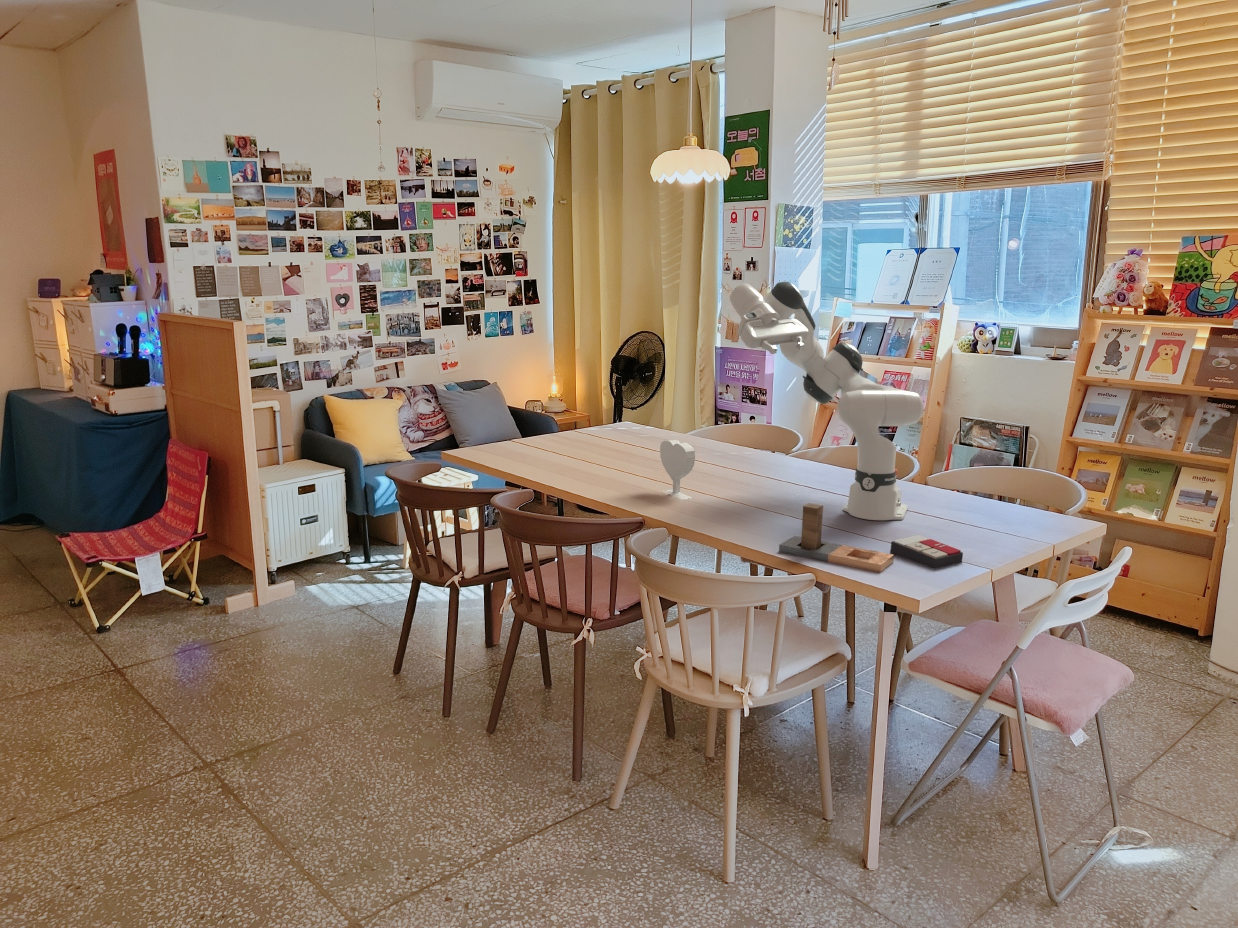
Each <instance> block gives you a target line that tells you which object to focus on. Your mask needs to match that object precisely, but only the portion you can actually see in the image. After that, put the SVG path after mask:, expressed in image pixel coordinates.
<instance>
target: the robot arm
mask: <svg viewBox="0 0 1238 928" xmlns="http://www.w3.org/2000/svg"><path fill="white" fill-rule="evenodd" d="M729 301H730V303H731V304H730V305H732V307H733V308H734V310H735V312H736V313H737V314H738V316H739V317H740V318H741V320H740V322H739V324H738V328H737V335H738V336H739V337H740V339H741V340H742V342H743V343H744V345H745V346H746V347H748V348H750V349H757V348H761V349H763V350H765V351H767V352H769V354H771V355H775V354H777V352H778V348H777V347H776V346H779V349H780V352H781V354H782V355H783V356H784V357H785V358H786V359H787V360H788V361H789V362H790V363H792V364H793V365H795V366H796V367H798V368H801V369H802V370H803V371H805V372H806V374H805V375H806V376H805V375H802V378H803V383H802V385H803V390H804V391H805V393H806V395H807V397H808V399H810V400H811V401H813V402H815V403H817V404H821V405H826V404H828V403H829V402H830V401H832V400H833V399H834V397H835V396H836V395H837V394H838V393H839V392H840V397H839V399H838V400H837V407H836V412H837V415H838V417H839V419H840V421H842V423H844V424H845V425H846V426H847V427H848V429H850V431H851V432H852V433H853V435H854V437H855V439H856V443H857V468H855V472H854V480H855V482H853V483H852V484H850V486H849V494H848V500H847V504H846V505H844V506H843V507H842V508H843V509H842V511H844V512H846V513H848V514H849V515H850V516H853V517H855V518H858V519H862V520H863V519H864V520H868V521H869V520H870V521H889V520H890V521H891V520H896V521H899V520H900V521H901V520H902V521H903V520H904V518H905V515H906V514H907V512H908V507H909V506H908V505H907V504H905V503H902V491H901V489H900V488H899V486H898V485H897V483H896V482H897V475H898V469H897V468H895V467H896V453H897V449H896V446H895V444H894V442H892V441H891V440H890V439H888V438H887V437H885V436H882V435H881V434H880V432H879V431H880V430H879V427H904V426H909V425H913V424H914V425H915V424H917V423H918V422H919V421H920V419H922V416H923V414H924V409H925V407H924V401H923V399H922V396H920V395H919V393H917V392H914V391H909V390H904V389H900V388H897V387H892V386H889V385H884V384H878V383H876V382H874V381H872V380H871V379H869V378H866V377H864V376H862V375H860V372H863V371H864V368H862V367H863V357H862V355H861V354H860V352H859V350H858V349H857V347H855V346H854V345H852V344H850V343H847V342H846V343H845V342H839V343H837V344H836V345H834V346H833V348H832V350H830V352H828V353H827V354H826V355H825V352H824V349H823V347H822V345H821V343H820V342H819V341H818V339H817V338H816V337H815V336H814V334H815V333H814V332H815V330H816V323H815V320H814V318H813V316H812V314H811V312H810V311H809V309H808V306H807V305H806V303H805V300H804V298H803V295H802V293H801V292H800V290H799V289H798V287H797V286H796V285H794V284H793V282H792V283H791V282H789V281H780V282H777V283H776V284H775V286H773V288H771V290H770V291H769V293H768V294H767V295H766V296H765V297H764V296H763V295H762V294H761V293H760V292H759V291H758V289H756V288H755V287H753V286H752V285H750V283H748V282H747V283H746V282H745V283H741V284H740V285H738V286H736V287H735V288H734V289H733V291H732V292H731V293H730V295H729ZM792 315H794V317H793V318H791V317H792Z"/></svg>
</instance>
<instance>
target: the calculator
mask: <svg viewBox="0 0 1238 928" xmlns="http://www.w3.org/2000/svg"><path fill="white" fill-rule="evenodd" d="M890 542H891V543H890V550H889V554H893V555H894V556H897V557H900V558H904V559H906V560H909V561H911V562H914V563H916V564H919V565H923V566H924V567H928V568H930V569H932V570H933V569H934V570H936V569H941V568H944V567H948V566H953V565H955V564H960V563H962V561H963V558H964V557H963V555H964V552H962V551H961V549H959V548H955V547H952V546H950V545H948V544H945V543H942V542H940V541H937V540H934V539H931V538H927V537H924V536H922V535H920V534H919V535H913V536H909V537H908V536H907V537H905V538H904V537H903V538H900V539H896V540H895V539H894V540H893V541H890Z"/></svg>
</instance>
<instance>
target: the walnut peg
mask: <svg viewBox="0 0 1238 928" xmlns="http://www.w3.org/2000/svg"><path fill="white" fill-rule="evenodd" d="M823 513H824V505H823V504H819V503H818V504H817V503H810V502H808V503H806V504H805V505H803V506H802V518H801V519H802V520H801V521H802V522H801V536H800V537H801V547H805V548H811V549H816V550H817V549H819V548H821V541H822V533H823V532H822V531H823V530H822V529H823V516H824V515H823Z"/></svg>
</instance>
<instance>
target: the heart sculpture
mask: <svg viewBox="0 0 1238 928" xmlns="http://www.w3.org/2000/svg"><path fill="white" fill-rule="evenodd" d="M659 451H660V452H659V453H660V454H659V455H660V456H659V457H660V460H661V463H662V464H661V465H662V466H663V468H664V470H665V472H666V473H667V474H668V476H669V477H670V479H671V481H672V489H666V490H667V491H664V490H662V491H663V492H665V493H667V494H666V495H668V494H670V495H672V496H671V497H673V496H674V497H673V498H675V497H676V498H675V499H678V498H679V499H678V500H689V499H688V498H690V499H692V498H693V496H689V495H687V494H684V493H682V492H681V480H682V479H683V478H685V477H686V476H688V475H689V474H690V473H691V471H692V470H693V468H694V466H695V461H696V450H695V449H694V447H693V446H692V445H691V444H689V443H687V442H681V441H679V439H670V440H663V441H661V443H660V447H659ZM665 493H664V494H665ZM670 495H669V496H670Z"/></svg>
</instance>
